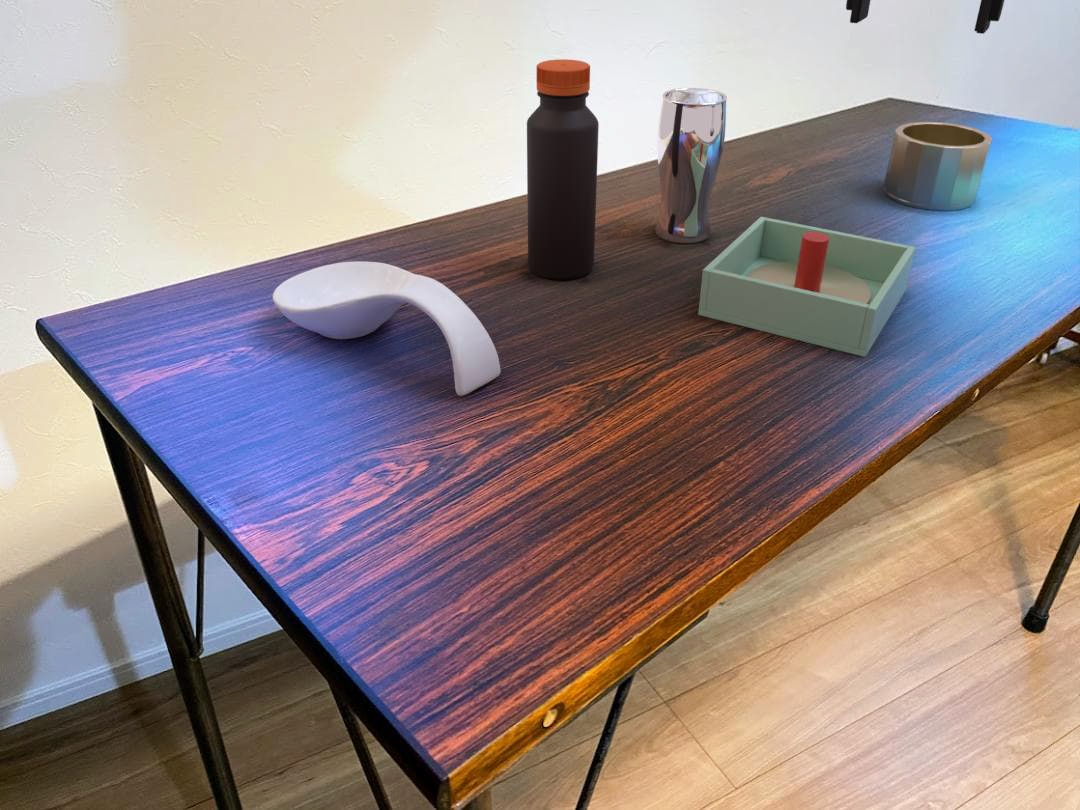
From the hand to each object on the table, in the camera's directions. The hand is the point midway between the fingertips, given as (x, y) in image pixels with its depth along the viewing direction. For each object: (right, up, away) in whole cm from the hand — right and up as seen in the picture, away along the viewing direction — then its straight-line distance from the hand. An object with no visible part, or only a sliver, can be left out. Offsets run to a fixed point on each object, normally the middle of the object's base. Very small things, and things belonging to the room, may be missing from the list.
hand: (918, 25), depth 74 cm
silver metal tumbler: (-15, -12, +27) cm, 33 cm away
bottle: (-29, -17, +20) cm, 39 cm away
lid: (-6, -20, +12) cm, 24 cm away
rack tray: (-6, -21, +13) cm, 25 cm away
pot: (+17, -5, +38) cm, 42 cm away
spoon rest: (-44, -26, +6) cm, 51 cm away
